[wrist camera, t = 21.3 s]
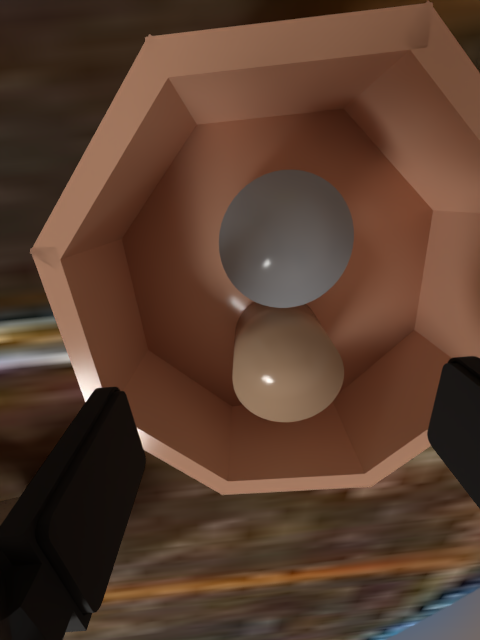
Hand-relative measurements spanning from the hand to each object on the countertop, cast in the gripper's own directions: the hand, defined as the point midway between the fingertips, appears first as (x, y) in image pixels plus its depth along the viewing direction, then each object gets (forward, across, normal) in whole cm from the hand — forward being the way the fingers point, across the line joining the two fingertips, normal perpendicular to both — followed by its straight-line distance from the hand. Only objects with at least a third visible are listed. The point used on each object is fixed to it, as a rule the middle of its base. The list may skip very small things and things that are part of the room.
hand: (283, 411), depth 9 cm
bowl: (+7, -1, -2) cm, 8 cm away
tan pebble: (+7, -1, +1) cm, 7 cm away
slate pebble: (+7, -1, -4) cm, 8 cm away
